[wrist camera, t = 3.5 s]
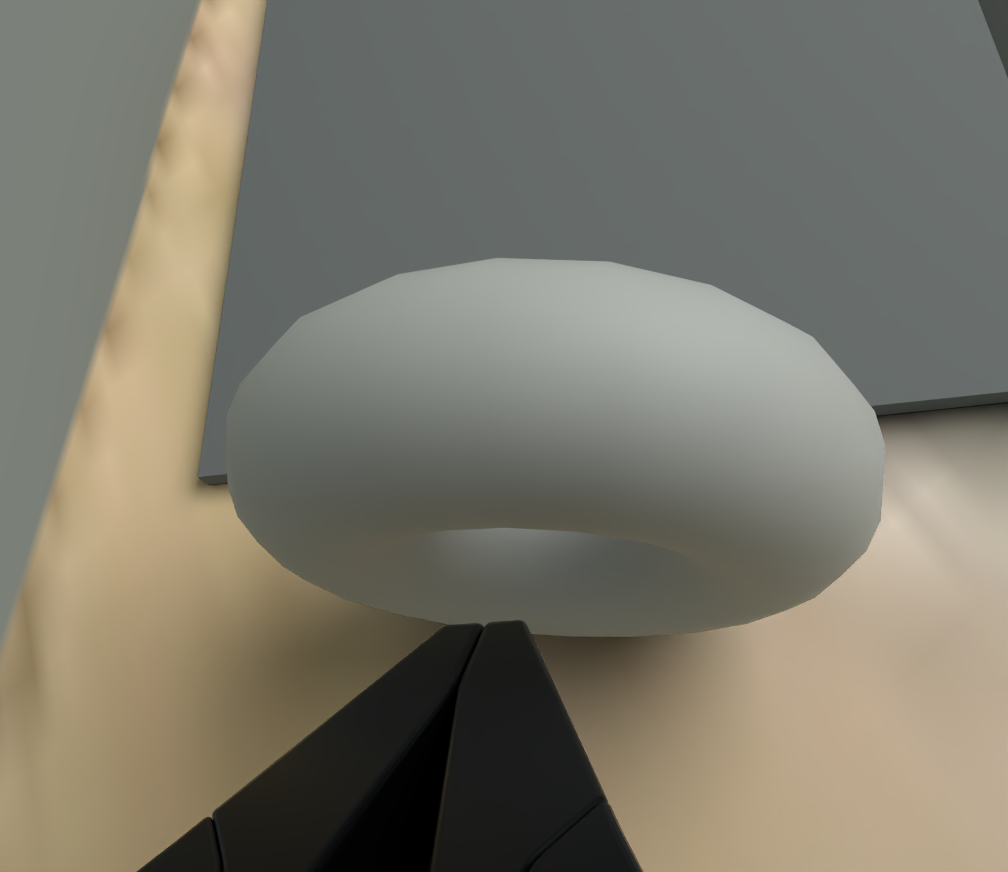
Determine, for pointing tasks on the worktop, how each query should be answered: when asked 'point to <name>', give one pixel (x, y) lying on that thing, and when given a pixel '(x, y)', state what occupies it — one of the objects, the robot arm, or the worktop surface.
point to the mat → (640, 168)
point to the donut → (556, 451)
